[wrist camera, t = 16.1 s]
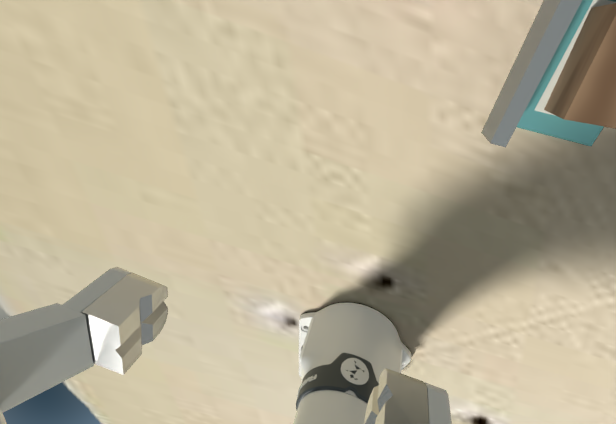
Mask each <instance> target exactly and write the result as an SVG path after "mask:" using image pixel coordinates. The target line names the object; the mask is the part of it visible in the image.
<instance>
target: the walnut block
mask: <svg viewBox="0 0 616 424" xmlns="http://www.w3.org/2000/svg"><path fill="white" fill-rule="evenodd" d="M544 110H545V111H547V112H550V113H552V114H554V115H556V116H558V117H560V118H562V119H564V120H570V121H575V122H581V123H587V124H593V125H598V126H604V127H610V128H615V129H616V3H613V4H608V5H603V6H598V7H592V8H591V9H590V11H589V13H588V16H587V18H586V20H585V22H584V24H583V26H582V29H581V31H580V33H579V35H578V37H577V39H576V42H575V44H574V46H573V48H572V50H571V52H570V55H569V57H568V59H567V61H566V63H565V65H564V67H563V70H562V72H561V74H560V76H559V78H558V80H557V83H556V85H555V87H554V89H553V91H552V93H551V96H550V98H549V100H548V102H547V104H546V106H545V108H544Z"/></svg>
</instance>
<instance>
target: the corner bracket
mask: <svg viewBox="0 0 616 424" xmlns="http://www.w3.org/2000/svg"><path fill="white" fill-rule="evenodd" d="M613 3H616V0H544V1H543V3H542V5H541V8H540V10H539V12H538V14H537V16H536V18H535V20H534V22H533V25H532V27H531V29H530V31H529V33H528V35H527V37H526V39H525V41H524V44H523V46H522V48H521V50H520V52H519V54H518V56H517V58H516V60H515V63H514V65H513V67H512V69H511V71H510V73H509V75H508V77H507V80H506V82H505V84H504V86H503V88H502V90H501V92H500V94H499V96H498V99H497V101H496V103H495V105H494V107H493V109H492V111H491V113H490V115H489V118H488V120H487V122H486V124H485V126H484V128H483V130H482V132H481V133H482V134H483V135H484V136H485V137H486V139H487V140H488V141H489V142H490V143H492V144H495V145H499V146H503V147H506V146H507V144H508V142H509V140H510V138H511V136H512V134H513V132H514V130H515V128H516V127H518V128H522V129H526V130H530V131H534V132H537V133H541V134H545V135H549V136H553V137H557V138H561V139H564V140H568V141H572V142H576V143H580V144H584V145H588V146H592V144H593V143H594V141H595V140H596V138H597V137H598V135H599V134H600V132H601V131H602V129H603V128H604V126H598V125H593V124H587V123H581V122H575V121H570V120H564V119H562V118H560V117H558V116H556V115H554V114H552V113H550V112H547V111H545V110H544V108H545V106H546V104H547V102H548V100H549V98H550V96H551V93H552V91H553V89H554V87H555V85H556V83H557V80H558V78H559V76H560V74H561V72H562V70H563V67H564V65H565V63H566V61H567V59H568V57H569V55H570V52H571V50H572V48H573V46H574V44H575V42H576V39H577V37H578V35H579V33H580V31H581V29H582V26H583V24H584V22H585V20H586V18H587V16H588V13H589V11H590V9H591V8H592V7H598V6H603V5H608V4H613Z"/></svg>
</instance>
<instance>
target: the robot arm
mask: <svg viewBox="0 0 616 424" xmlns="http://www.w3.org/2000/svg"><path fill="white" fill-rule="evenodd" d="M167 297H168V289H167V287H166V286H164V285H161V284H159V283H156V282H154V281H152V280H149V279H147V278H144V277H142V276H139V275H137V274H134V273H132V272H129V271H127V270H124V269H121V268H119V267H115V268H112V269H109V270H108V271H107V272H105V273H104V274H103V275H101V276H100V277H99V278H97V279H96V280H95V281H93V282H92V283H91V284H89V285H88V286H87V287H85V288H84V289H83V290H81V291H80V292H79V293H77V294H76V295H75V296H73V297H72V298H71V299H69V300H68V301H67V302H65V303H64V304H63V305H61V304H58V303H56V304H53V305H49V306H46V307H42V308H39V309H35V310H32V311H28V312H25V313H21V314H18V315H15V316H11V317H8V318H4V319H1V320H0V424H7V423H6V421H5V418H4V416H3V414H2V413H3V412H5V411H7V410H9V409H11V408H13V407H15V406H16V405H18V404H20V403H22V402H24V401H26V400H28V399H30V398H32V397H34V396H36V395H38V394H40V393H42V392H44V391H46V390H47V389H49V388H51V387H53V386H55V385H57V384H59V383H61V382H63V381H65V380H67V379H69V378H71V377H73V376H75V375H77V374H79V373H81V372H82V371H84V370H86V369H88V368H90V367H92V366H93V365H94V364H96V365H99V366H101V367H104V368H107V369H109V370H112V371H114V372H117V373H120V374H122V375H124V374H125V373H126V372H127V370H128V369H129V368H130V367H131V366H132V365H133V363H134V362H135V361H136V360H137V359H138V358H139V357H140V355H141V354H142V345H144V344H146V343H149V342H151V341H153V340H154V339H155V338H156V337H157V335H158V334H159V333H160V331H161V330H162V328H163V326H164V324H165V322H166V319H167V315H168V307H167V306H166V304H165V303H164V300H165V299H166V298H167ZM410 361H411V352H410V351H409V349H408V348H407V347H406V346H405V345H404V344H403V343H402V342H401V340H400V338H399V335H398V332H397V330H396V328H395V326H394V325H393V324H392V322H391V321H390V320H389V319H388V318H387V317H385V316H384V315H383V314H381V313H380V312H378V311H377V310H375V309H373V308H370V307H368V306H365V305H361V304H356V303H337V304H333V305H330V306H327V307H325V308H323V309H322V310H320V311H317V312H312V313H305V314H302V315H301V316H300V320H299V376H300V377H301V380H302V384H301V386H300V388H299V391H298V395H297V402H296V409H297V413H296V416H295V419H294V423H293V424H452V421H451V413H450V405H449V397H448V394H447V392H446V390H444V389H441V388H438V387H435V386H433V385H430V384H427V383H424V382H423V381H420V380H418V379H415V378H412V377H409V376H406V375H404V374H401V370H402V369H403V368H404V367H405V366H406V365H407V364H408V363H409V362H410ZM93 363H94V364H93Z"/></svg>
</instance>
